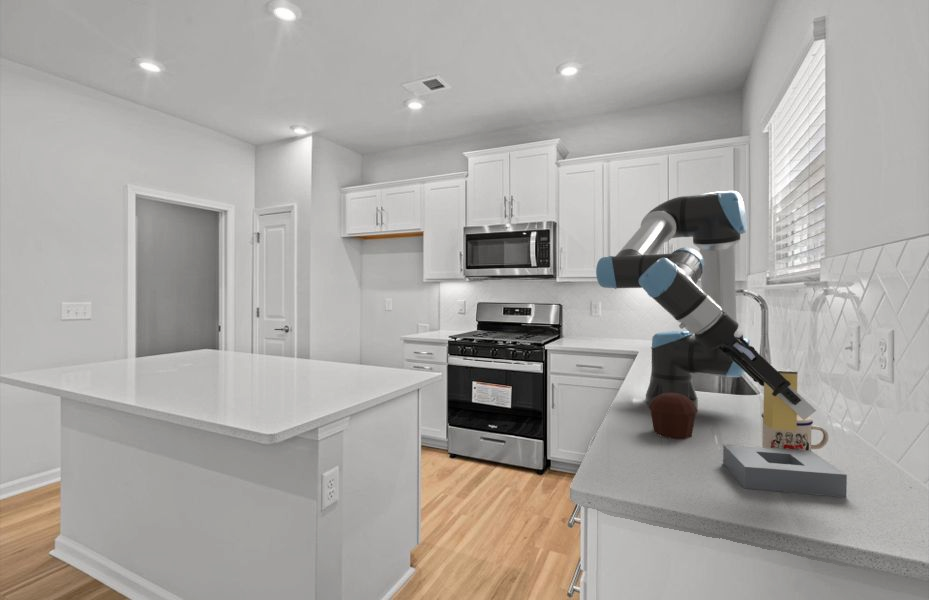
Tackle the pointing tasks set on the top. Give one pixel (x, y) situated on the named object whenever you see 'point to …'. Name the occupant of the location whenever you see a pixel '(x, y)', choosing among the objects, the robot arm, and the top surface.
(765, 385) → the plug
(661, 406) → the muffin
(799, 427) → the teacup with lid
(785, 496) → the top surface
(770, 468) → the socket plate
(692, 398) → the robot arm
